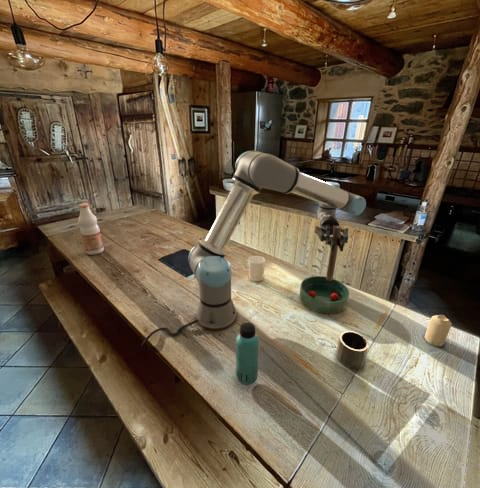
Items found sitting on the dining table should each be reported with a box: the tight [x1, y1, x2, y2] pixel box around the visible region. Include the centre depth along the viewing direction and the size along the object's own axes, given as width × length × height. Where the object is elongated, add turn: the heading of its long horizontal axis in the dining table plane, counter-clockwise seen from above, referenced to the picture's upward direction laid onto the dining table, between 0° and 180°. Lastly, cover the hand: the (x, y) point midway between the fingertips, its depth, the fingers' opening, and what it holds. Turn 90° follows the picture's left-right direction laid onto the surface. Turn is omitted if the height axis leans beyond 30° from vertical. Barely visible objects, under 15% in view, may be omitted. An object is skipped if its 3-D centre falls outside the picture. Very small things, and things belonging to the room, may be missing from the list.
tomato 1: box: [309, 291, 316, 298], centre depth 112 cm, size 3×3×3 cm
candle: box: [424, 314, 453, 347], centre depth 90 cm, size 6×6×10 cm
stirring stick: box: [325, 225, 342, 281], centre depth 100 cm, size 2×2×22 cm
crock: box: [335, 330, 370, 370], centre depth 83 cm, size 8×8×8 cm
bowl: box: [299, 275, 350, 315], centre depth 111 cm, size 19×19×6 cm
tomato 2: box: [331, 293, 338, 301], centre depth 111 cm, size 3×3×3 cm
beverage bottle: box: [235, 322, 260, 386], centre depth 73 cm, size 6×7×20 cm
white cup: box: [247, 255, 266, 282], centre depth 126 cm, size 8×8×10 cm
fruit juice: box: [77, 202, 105, 256], centre depth 148 cm, size 9×9×28 cm
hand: (337, 247), depth 92 cm, fingers closed on stirring stick, 2 cm apart
